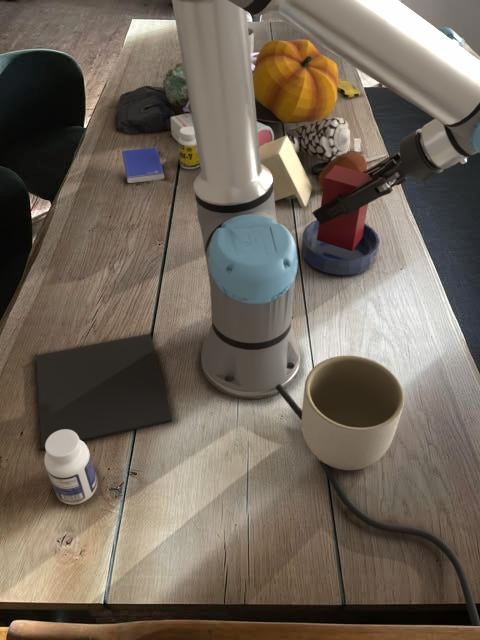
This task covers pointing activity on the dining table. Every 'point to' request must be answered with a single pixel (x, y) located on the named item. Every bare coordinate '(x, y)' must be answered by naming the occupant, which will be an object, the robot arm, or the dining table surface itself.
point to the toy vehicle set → (355, 145)
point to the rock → (176, 86)
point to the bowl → (339, 252)
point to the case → (343, 227)
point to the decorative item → (347, 89)
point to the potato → (344, 164)
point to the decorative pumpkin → (295, 81)
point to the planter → (350, 411)
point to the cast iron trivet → (144, 110)
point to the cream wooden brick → (285, 170)
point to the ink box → (180, 124)
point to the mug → (264, 134)
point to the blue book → (142, 165)
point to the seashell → (322, 138)
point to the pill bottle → (70, 467)
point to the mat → (101, 389)
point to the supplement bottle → (188, 148)
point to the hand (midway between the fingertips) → (323, 210)
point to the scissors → (328, 162)
